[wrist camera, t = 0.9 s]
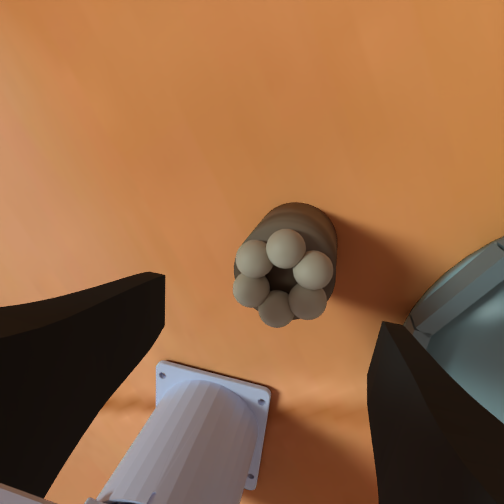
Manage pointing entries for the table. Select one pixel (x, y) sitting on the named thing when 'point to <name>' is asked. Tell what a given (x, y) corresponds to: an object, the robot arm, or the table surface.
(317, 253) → the brown ball-rimmed cylinder
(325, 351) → the table surface
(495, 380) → the round groove tray
